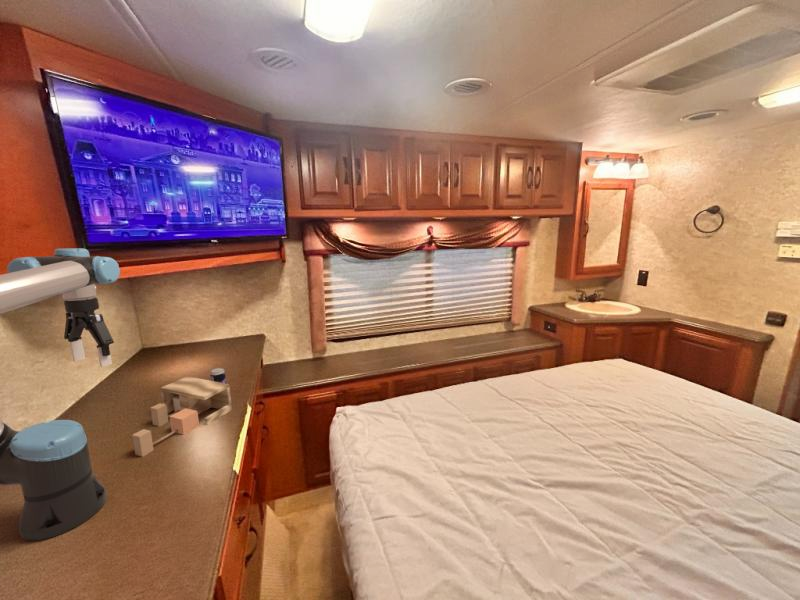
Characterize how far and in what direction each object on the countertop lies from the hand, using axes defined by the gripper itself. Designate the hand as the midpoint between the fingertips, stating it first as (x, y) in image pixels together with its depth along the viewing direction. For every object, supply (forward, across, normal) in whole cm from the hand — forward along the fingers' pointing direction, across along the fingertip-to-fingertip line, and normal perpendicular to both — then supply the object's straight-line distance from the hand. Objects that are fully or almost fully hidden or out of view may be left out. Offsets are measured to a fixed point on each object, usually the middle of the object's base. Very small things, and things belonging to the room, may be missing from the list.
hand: (92, 362), depth 102 cm
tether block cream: (+29, -5, -20) cm, 35 cm away
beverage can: (+29, -8, -38) cm, 48 cm away
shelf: (+29, -12, -25) cm, 40 cm away
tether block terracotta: (+29, -17, -8) cm, 35 cm away
